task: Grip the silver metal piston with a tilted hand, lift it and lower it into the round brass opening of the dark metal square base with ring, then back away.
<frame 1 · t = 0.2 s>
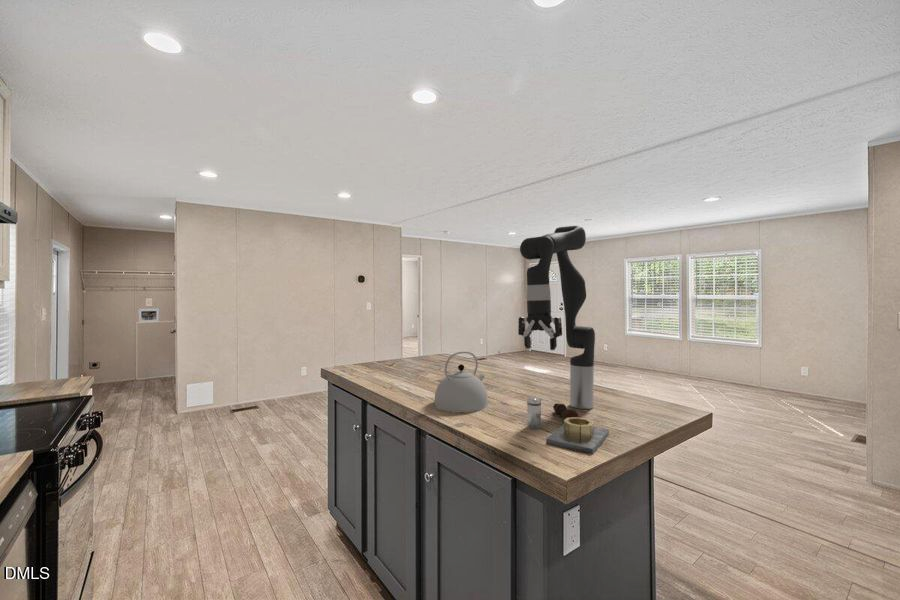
hand: (540, 349, 125), 29 cm above the table, tool pointing down, fingers open, 8 cm apart
bolt: (564, 418, 146), on the table
kettle: (463, 404, 163), on the table
piston: (533, 427, 135), on the table
square base with ring: (578, 438, 124), on the table
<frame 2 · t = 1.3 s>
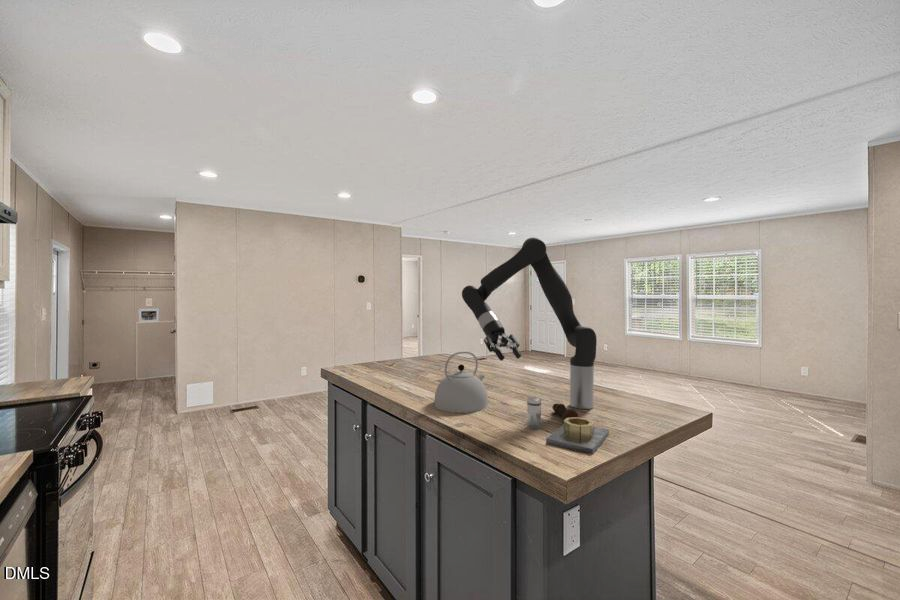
hand: (511, 358, 144), 23 cm above the table, tool tilted 45°, fingers open, 8 cm apart
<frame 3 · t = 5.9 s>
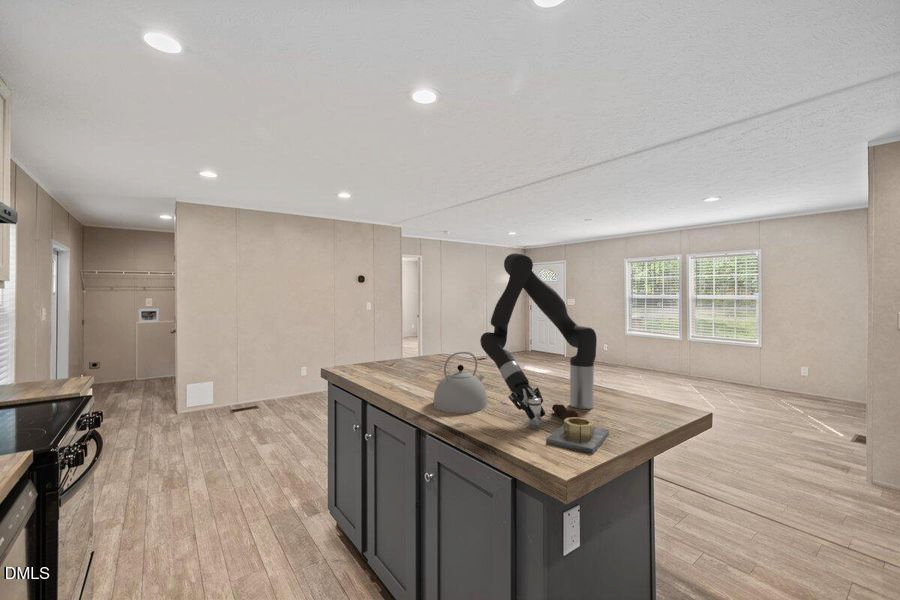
hand: (538, 416, 133), 4 cm above the table, tool tilted 45°, fingers closed on piston, 4 cm apart
piston: (534, 427, 135), on the table, touching gripper
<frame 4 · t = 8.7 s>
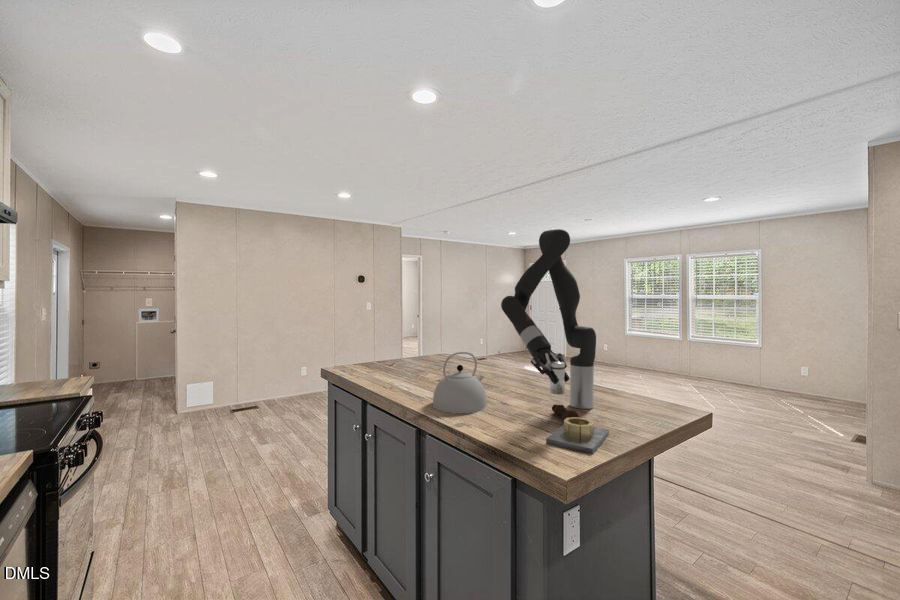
hand: (562, 381, 127), 18 cm above the table, tool tilted 45°, fingers closed on piston, 4 cm apart
piston: (557, 392, 129), point 14 cm above the table, touching gripper
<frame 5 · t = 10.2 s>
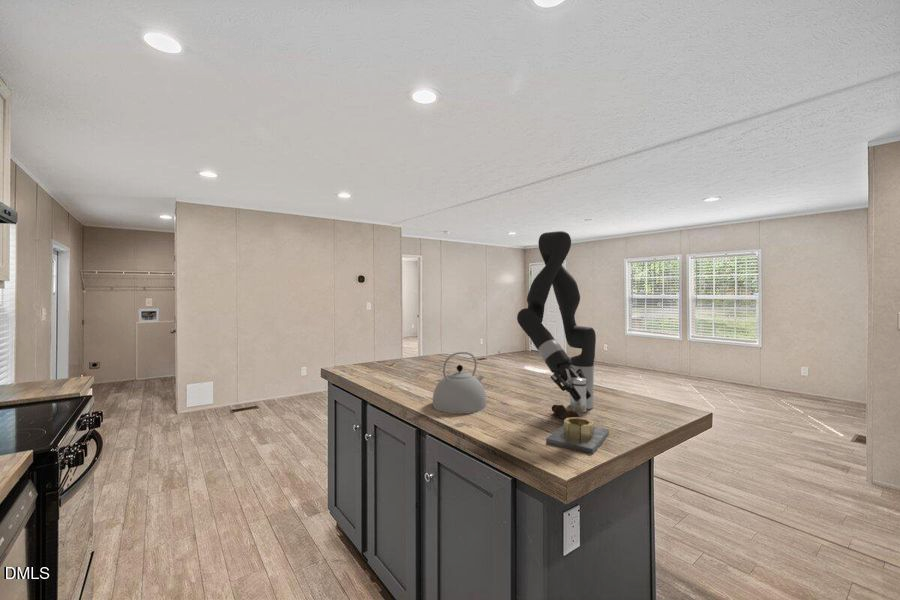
hand: (583, 398, 122), 13 cm above the table, tool tilted 45°, fingers closed on piston, 4 cm apart
piston: (578, 410, 124), point 9 cm above the table, touching gripper
when the fingers open (7 cm above the table, at t = 11.6 s): piston drops 2 cm, resting on square base with ring.
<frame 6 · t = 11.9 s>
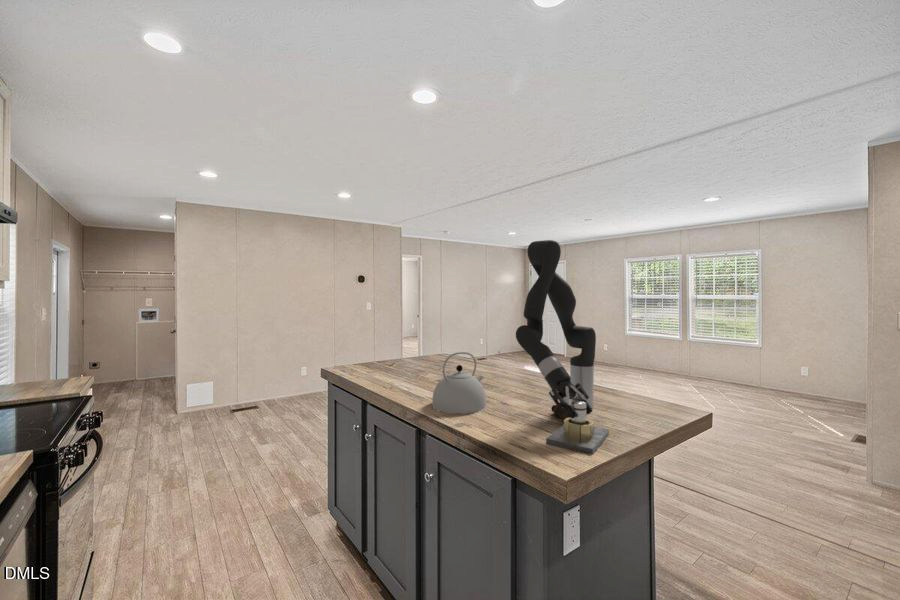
hand: (582, 414, 123), 8 cm above the table, tool tilted 45°, fingers open, 7 cm apart
piston: (578, 433, 124), point 2 cm above the table, touching square base with ring
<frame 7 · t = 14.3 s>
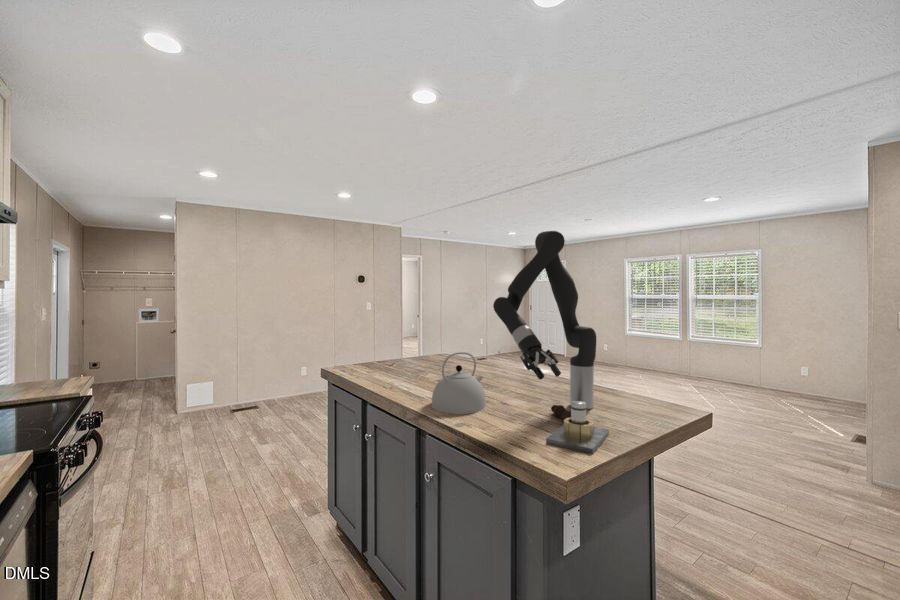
hand: (550, 376, 133), 18 cm above the table, tool tilted 45°, fingers open, 8 cm apart
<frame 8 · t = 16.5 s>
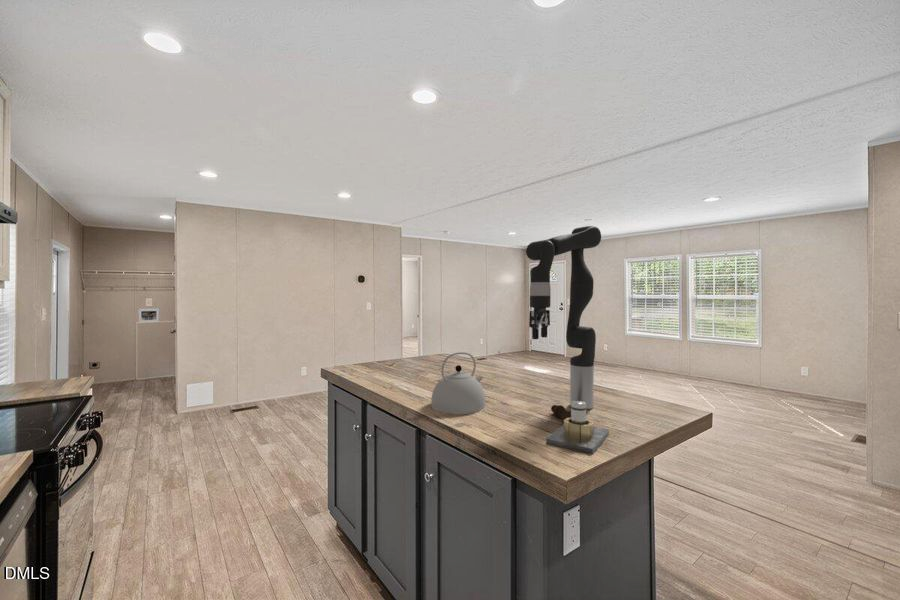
hand: (539, 338, 144), 30 cm above the table, tool pointing down, fingers open, 8 cm apart
at the end: piston 0.1 cm off-centre on the square base with ring, point 1.5 cm above the square base with ring's base; piston tilted 0°; the gripper is holding nothing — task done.
